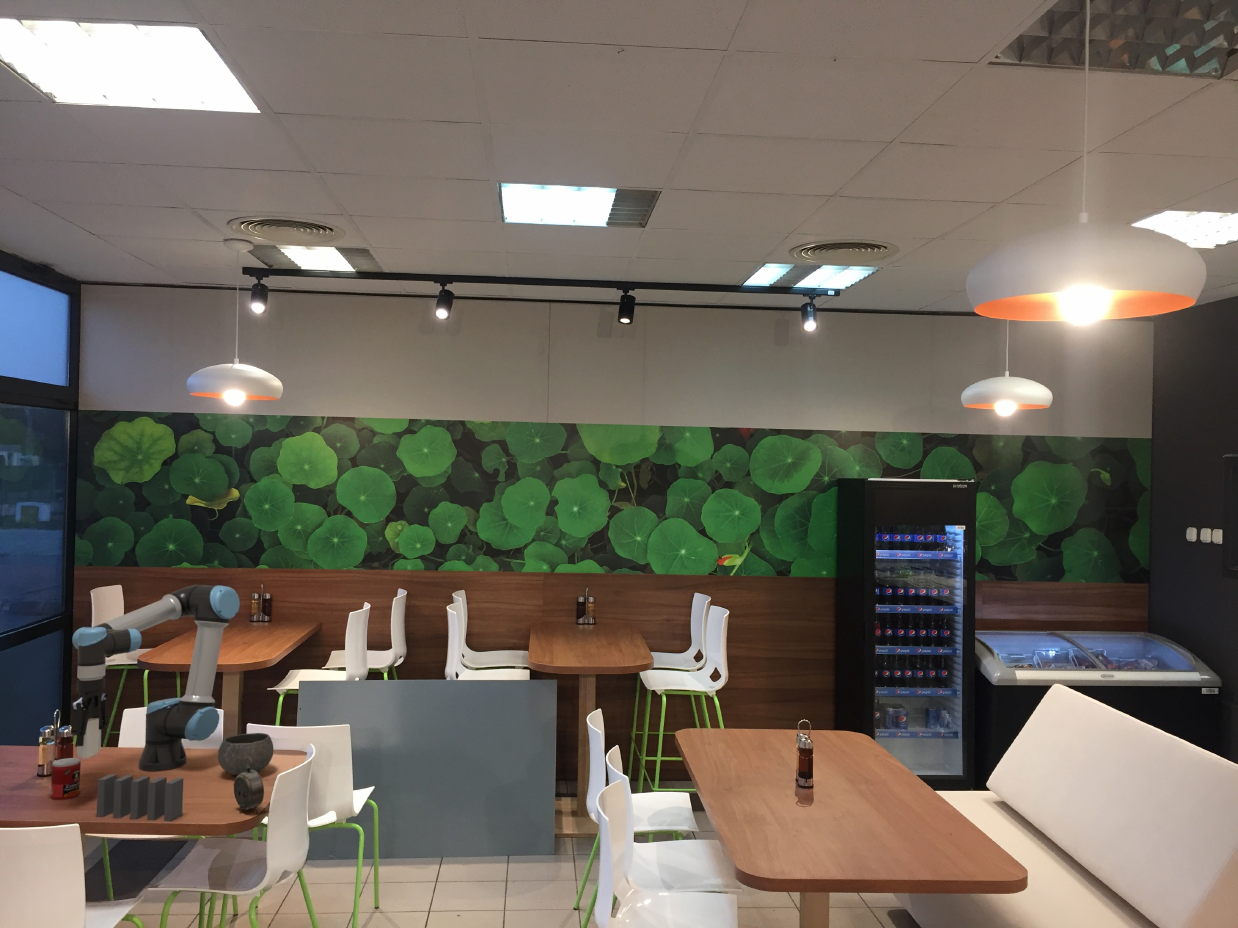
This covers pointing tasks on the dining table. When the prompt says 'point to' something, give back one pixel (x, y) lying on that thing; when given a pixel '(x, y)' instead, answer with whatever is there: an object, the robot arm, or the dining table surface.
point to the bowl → (245, 752)
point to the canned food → (65, 778)
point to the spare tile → (92, 737)
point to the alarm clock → (249, 789)
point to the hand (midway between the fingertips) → (88, 752)
